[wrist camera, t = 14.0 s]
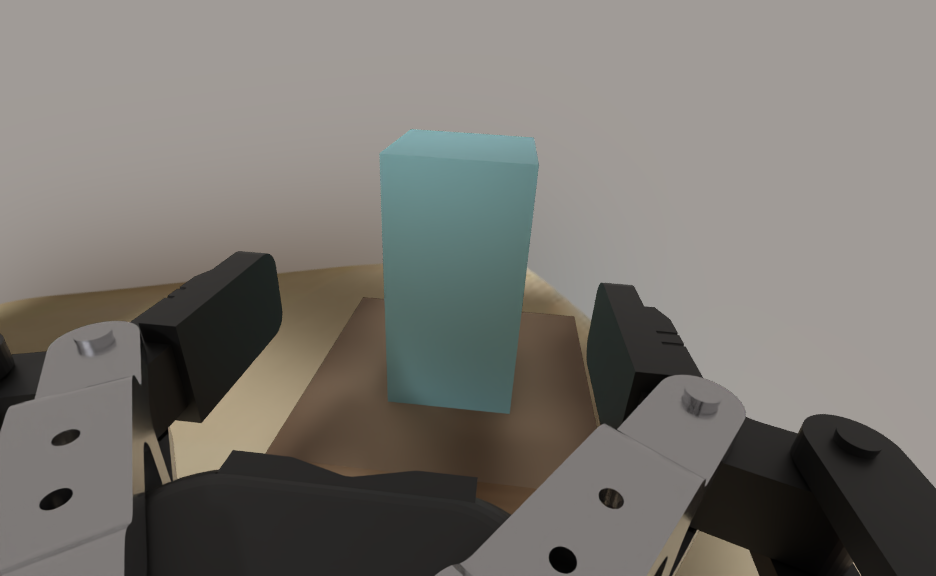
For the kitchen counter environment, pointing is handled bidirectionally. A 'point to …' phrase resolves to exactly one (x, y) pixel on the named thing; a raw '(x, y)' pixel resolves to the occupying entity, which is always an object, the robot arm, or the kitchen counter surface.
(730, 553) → the kitchen counter surface
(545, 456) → the walnut block
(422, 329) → the teal pillar
